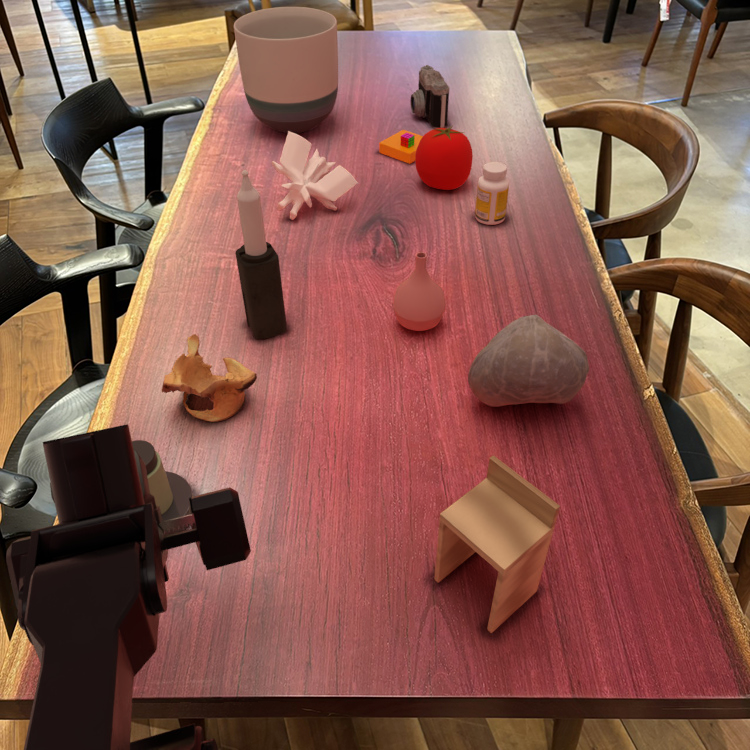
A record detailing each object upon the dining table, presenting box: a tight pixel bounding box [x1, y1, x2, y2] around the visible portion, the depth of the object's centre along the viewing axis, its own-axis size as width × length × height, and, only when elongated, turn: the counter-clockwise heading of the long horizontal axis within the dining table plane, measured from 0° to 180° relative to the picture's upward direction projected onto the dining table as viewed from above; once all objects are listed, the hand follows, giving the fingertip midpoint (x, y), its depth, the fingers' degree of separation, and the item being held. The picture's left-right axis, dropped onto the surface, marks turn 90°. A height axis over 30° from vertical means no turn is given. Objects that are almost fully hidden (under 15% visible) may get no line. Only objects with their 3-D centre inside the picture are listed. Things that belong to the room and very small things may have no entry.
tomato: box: [414, 125, 474, 191], centre depth 133 cm, size 10×11×11 cm
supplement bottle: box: [474, 161, 510, 226], centre depth 124 cm, size 5×5×10 cm
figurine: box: [271, 131, 359, 221], centre depth 130 cm, size 15×12×14 cm
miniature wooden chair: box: [433, 455, 561, 634], centre depth 69 cm, size 7×8×14 cm
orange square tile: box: [378, 129, 424, 165], centre depth 146 cm, size 8×8×4 cm
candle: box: [235, 169, 288, 341], centre depth 97 cm, size 5×5×25 cm
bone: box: [161, 333, 258, 424], centre depth 92 cm, size 12×10×8 cm
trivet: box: [162, 470, 194, 535], centre depth 81 cm, size 9×9×2 cm
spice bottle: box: [132, 439, 173, 515], centre depth 77 cm, size 5×5×8 cm
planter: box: [233, 6, 339, 134], centre depth 149 cm, size 20×20×21 cm
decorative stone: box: [467, 314, 590, 408], centre depth 88 cm, size 15×10×15 cm
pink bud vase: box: [391, 251, 447, 332], centre depth 102 cm, size 8×8×12 cm
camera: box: [410, 64, 450, 129], centre depth 157 cm, size 15×7×10 cm, turn 12°
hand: (144, 534), depth 68 cm, fingers open, 9 cm apart
